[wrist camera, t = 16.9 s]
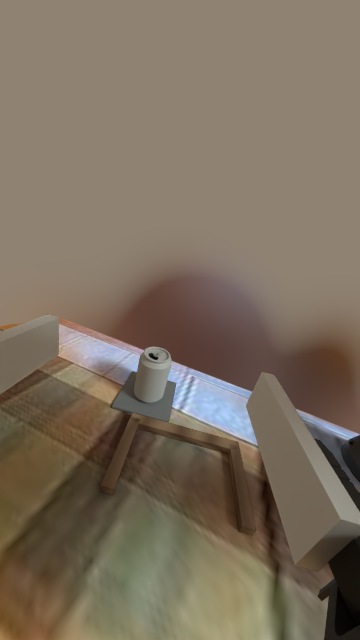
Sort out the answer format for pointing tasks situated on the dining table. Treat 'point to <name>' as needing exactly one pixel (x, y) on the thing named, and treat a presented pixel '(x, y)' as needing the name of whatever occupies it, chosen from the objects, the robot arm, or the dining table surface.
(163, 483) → the dining table surface
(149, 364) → the can
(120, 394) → the charcoal mat
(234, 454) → the brown u-shaped frame
